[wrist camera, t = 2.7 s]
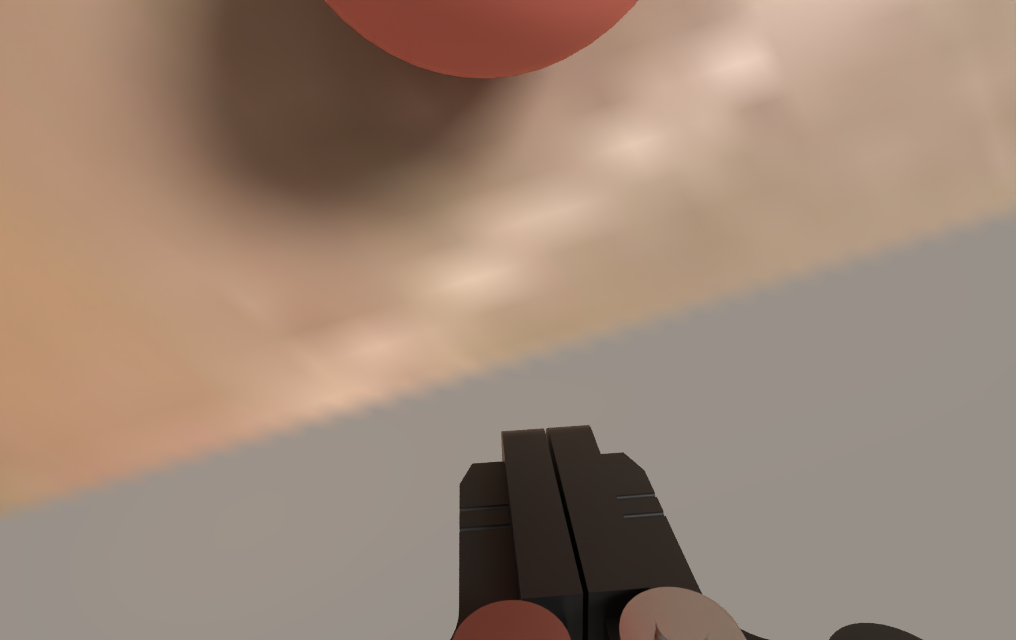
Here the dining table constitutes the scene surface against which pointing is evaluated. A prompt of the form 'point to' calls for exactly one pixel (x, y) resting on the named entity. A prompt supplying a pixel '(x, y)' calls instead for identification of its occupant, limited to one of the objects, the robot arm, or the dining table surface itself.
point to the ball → (481, 31)
